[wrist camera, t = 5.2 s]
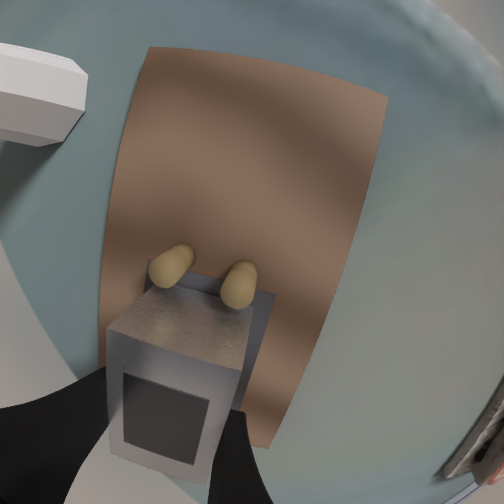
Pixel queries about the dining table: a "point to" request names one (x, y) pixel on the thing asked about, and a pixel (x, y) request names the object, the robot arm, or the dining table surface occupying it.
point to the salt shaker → (39, 95)
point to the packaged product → (483, 447)
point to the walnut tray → (241, 203)
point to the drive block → (173, 378)
